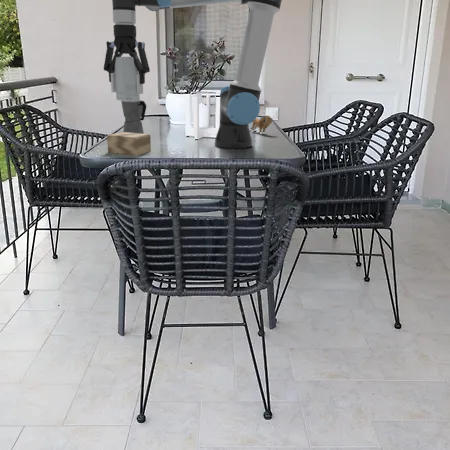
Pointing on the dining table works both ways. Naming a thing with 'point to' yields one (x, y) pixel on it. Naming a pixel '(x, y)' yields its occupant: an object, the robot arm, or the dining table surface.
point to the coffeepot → (133, 116)
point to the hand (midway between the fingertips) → (127, 92)
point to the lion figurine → (262, 123)
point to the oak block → (129, 143)
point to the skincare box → (126, 79)
